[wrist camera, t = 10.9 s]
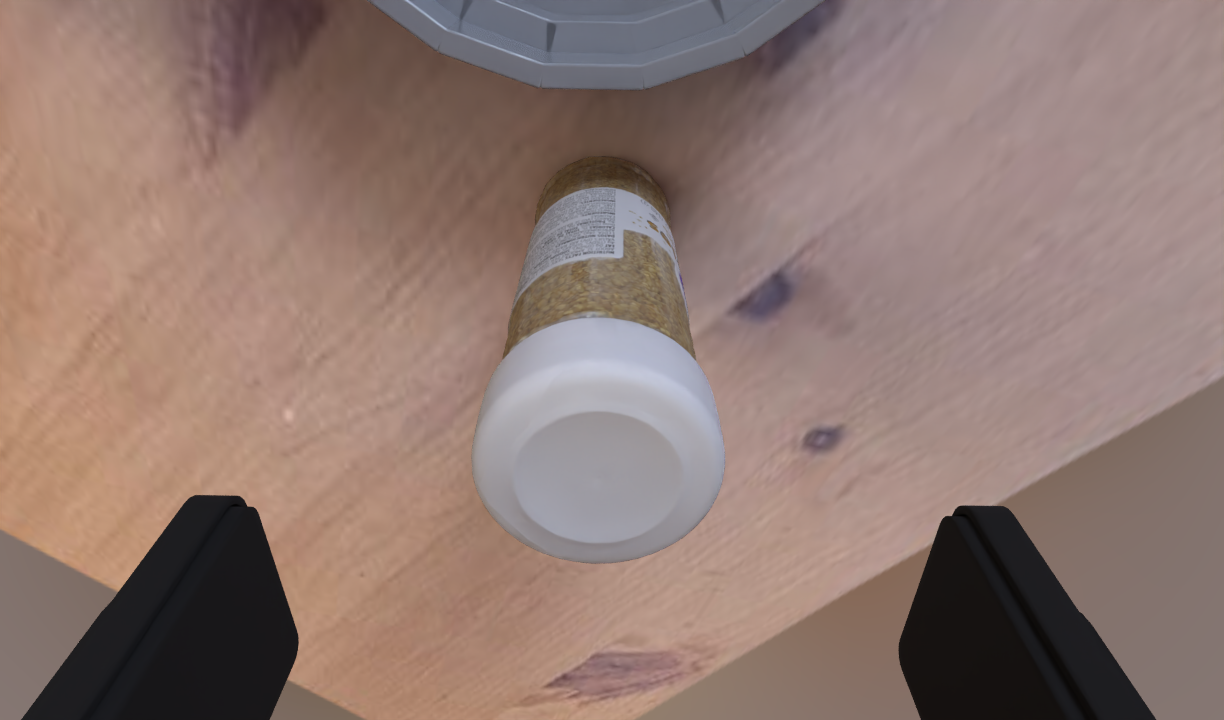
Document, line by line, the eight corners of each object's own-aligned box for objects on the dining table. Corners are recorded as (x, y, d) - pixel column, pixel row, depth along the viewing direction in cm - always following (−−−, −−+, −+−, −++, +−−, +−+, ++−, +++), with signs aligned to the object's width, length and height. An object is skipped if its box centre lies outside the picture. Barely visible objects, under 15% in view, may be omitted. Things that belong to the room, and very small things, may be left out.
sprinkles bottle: (684, 260, 25) (754, 543, 13) (560, 296, 25) (523, 596, 14) (647, 131, 23) (692, 337, 11) (512, 175, 23) (421, 412, 12)
